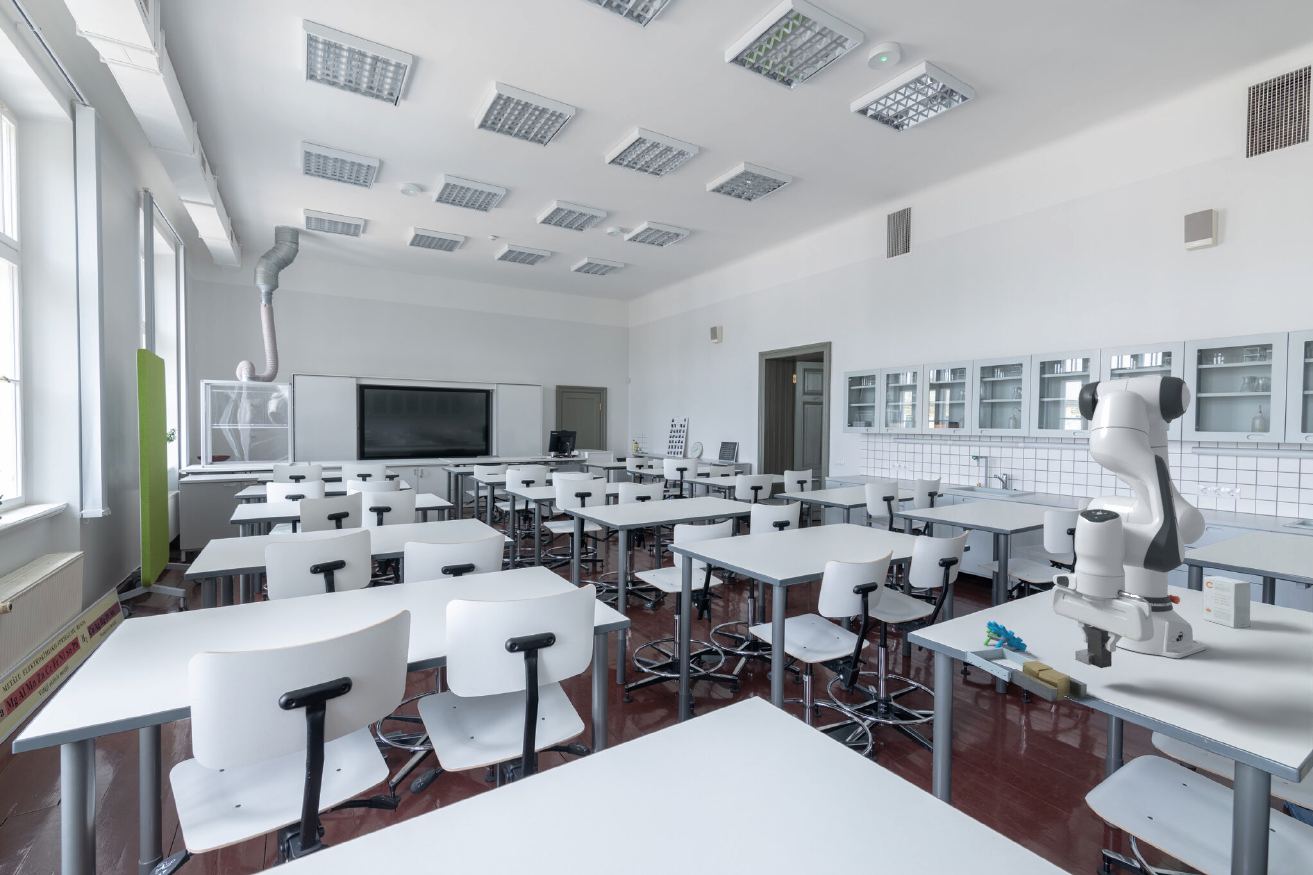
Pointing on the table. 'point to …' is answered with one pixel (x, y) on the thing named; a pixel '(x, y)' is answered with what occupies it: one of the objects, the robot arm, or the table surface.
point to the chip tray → (980, 655)
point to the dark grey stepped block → (1095, 649)
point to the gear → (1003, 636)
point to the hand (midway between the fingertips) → (1099, 646)
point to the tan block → (1034, 668)
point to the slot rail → (1047, 686)
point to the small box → (1226, 601)
